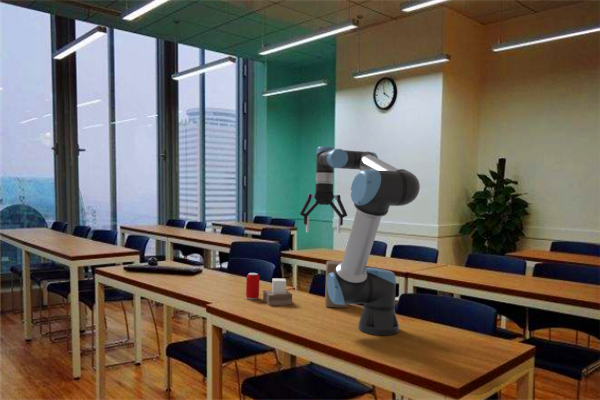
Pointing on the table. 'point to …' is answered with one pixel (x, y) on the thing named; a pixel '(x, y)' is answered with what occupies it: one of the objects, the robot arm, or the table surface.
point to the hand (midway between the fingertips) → (322, 232)
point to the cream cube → (278, 286)
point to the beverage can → (252, 286)
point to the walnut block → (277, 298)
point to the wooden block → (329, 269)
